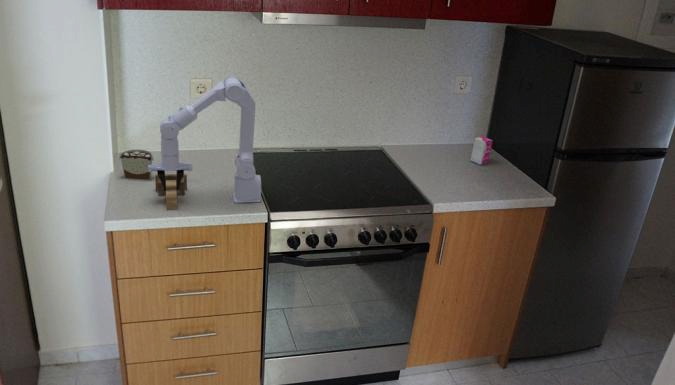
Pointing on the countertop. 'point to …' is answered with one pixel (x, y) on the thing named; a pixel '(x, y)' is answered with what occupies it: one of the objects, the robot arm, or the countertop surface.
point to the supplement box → (481, 150)
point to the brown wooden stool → (171, 177)
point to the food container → (136, 164)
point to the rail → (171, 195)
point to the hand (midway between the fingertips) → (171, 189)
